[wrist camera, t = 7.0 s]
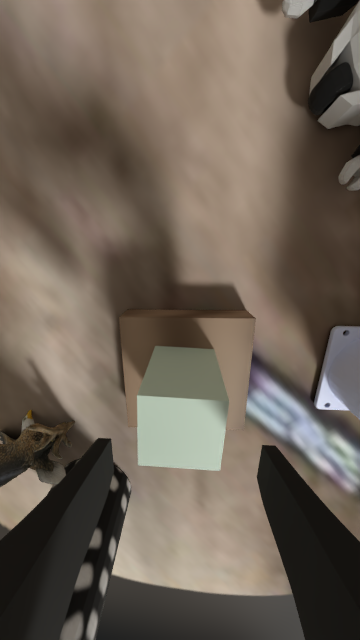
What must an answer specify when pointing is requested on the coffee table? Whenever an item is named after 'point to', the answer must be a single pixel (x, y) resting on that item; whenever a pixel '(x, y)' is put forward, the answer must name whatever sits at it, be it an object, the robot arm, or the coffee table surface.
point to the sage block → (182, 410)
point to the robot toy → (336, 73)
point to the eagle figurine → (33, 451)
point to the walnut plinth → (190, 332)
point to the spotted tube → (97, 562)
